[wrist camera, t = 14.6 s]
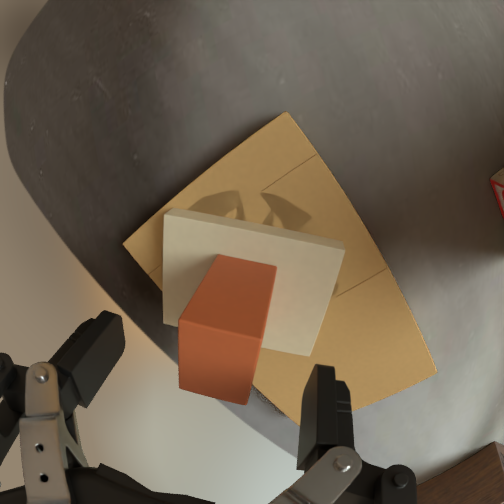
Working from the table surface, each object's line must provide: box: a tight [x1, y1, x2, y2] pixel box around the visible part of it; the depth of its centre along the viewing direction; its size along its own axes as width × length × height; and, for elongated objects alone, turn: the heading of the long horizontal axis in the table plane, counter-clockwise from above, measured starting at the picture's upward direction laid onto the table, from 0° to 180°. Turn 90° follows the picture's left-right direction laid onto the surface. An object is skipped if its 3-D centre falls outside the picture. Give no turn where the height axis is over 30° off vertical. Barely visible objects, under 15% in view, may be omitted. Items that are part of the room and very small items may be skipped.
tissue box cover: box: [416, 441, 504, 504], centre depth 23 cm, size 26×14×10 cm, turn 57°
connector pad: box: [163, 208, 345, 405], centre depth 14 cm, size 9×7×8 cm
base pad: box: [123, 111, 437, 426], centre depth 18 cm, size 20×12×2 cm, turn 38°
